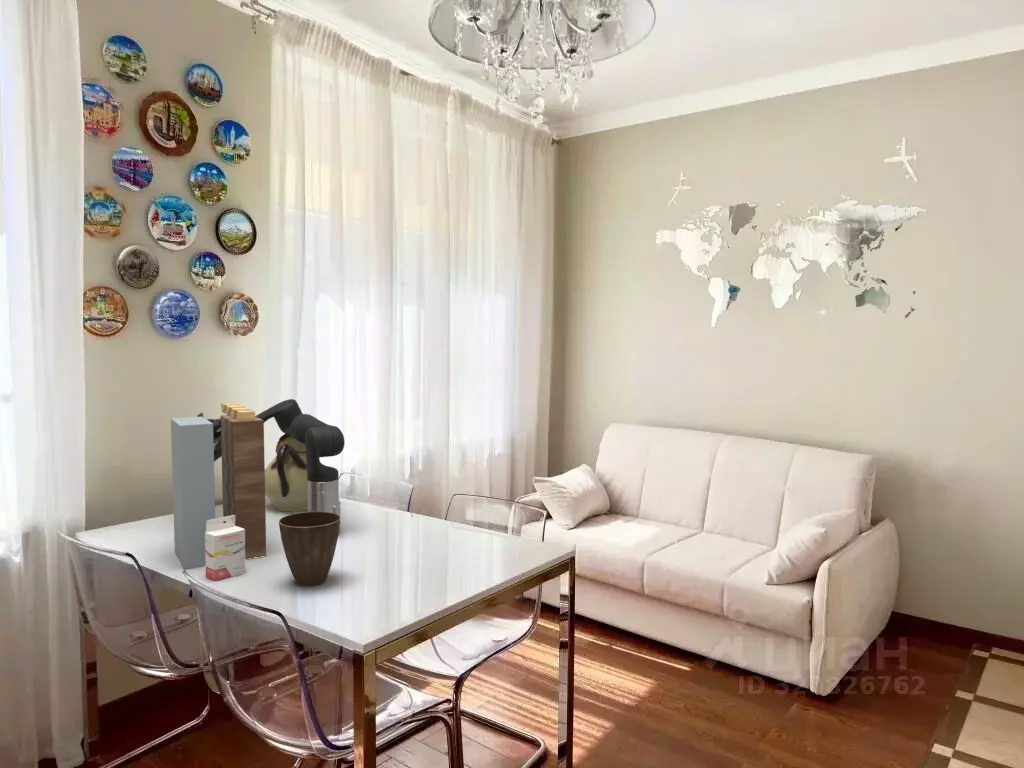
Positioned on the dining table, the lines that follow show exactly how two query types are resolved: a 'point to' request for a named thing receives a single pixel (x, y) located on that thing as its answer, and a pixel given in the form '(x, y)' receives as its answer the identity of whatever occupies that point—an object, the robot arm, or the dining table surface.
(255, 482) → the walnut pillar
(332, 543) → the plant pot
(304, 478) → the pitcher
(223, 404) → the pine slat
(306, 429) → the robot arm
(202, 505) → the slate grey pillar
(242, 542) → the ink cartridge box
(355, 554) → the dining table surface
